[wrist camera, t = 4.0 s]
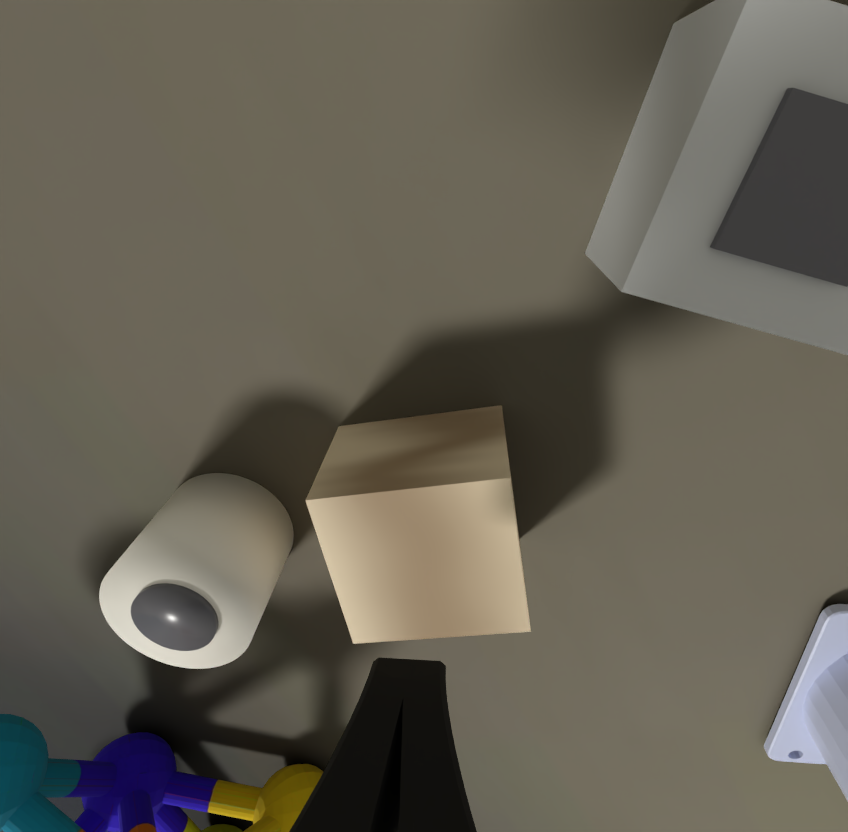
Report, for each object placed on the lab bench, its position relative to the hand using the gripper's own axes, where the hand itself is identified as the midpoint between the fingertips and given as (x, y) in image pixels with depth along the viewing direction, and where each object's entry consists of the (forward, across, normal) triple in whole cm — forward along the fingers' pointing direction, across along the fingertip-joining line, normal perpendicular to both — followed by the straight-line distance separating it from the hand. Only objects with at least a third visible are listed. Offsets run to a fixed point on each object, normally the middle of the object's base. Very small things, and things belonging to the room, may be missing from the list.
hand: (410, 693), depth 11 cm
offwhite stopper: (+8, +7, +2) cm, 10 cm away
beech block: (+8, 0, 0) cm, 8 cm away
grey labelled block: (+8, -7, -9) cm, 14 cm away
